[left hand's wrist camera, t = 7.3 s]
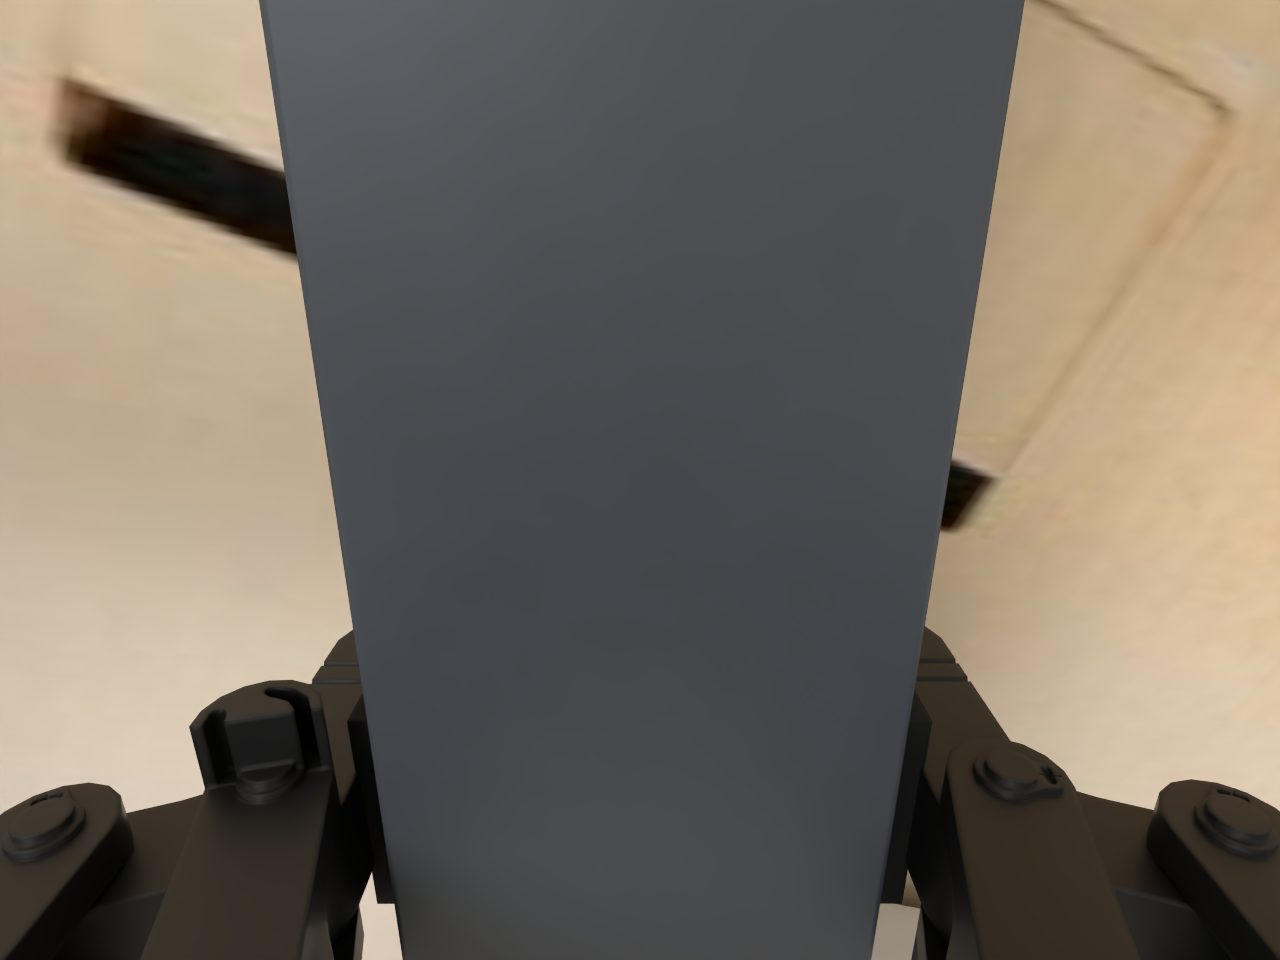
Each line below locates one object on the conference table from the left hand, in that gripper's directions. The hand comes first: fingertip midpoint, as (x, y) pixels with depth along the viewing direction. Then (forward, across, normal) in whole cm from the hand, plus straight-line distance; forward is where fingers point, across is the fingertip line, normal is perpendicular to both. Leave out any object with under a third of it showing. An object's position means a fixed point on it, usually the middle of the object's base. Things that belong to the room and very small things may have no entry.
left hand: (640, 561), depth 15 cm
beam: (+1, 0, -35) cm, 35 cm away
